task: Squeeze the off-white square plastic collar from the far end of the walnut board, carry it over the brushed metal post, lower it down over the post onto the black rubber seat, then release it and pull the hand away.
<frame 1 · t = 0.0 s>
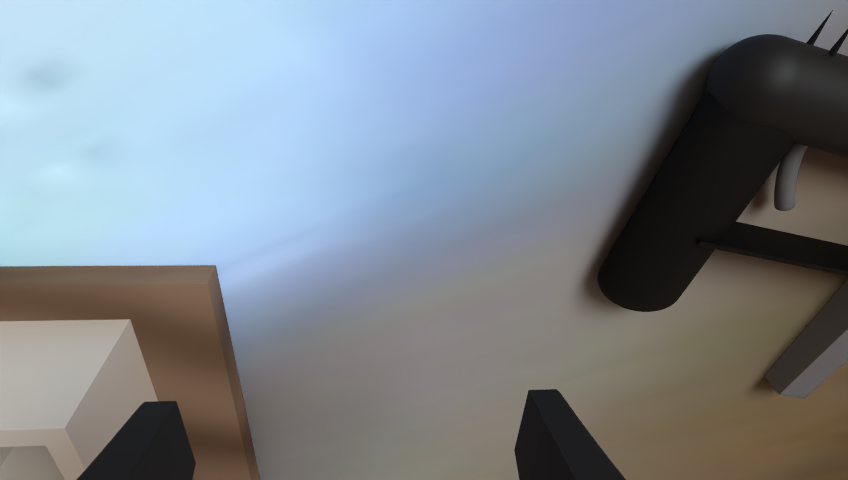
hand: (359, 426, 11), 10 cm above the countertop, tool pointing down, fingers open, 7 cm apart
post board: (118, 418, 24), on the countertop
door handle: (815, 235, 23), on the countertop
collar: (76, 371, 21), point 1 cm above the countertop, touching post board
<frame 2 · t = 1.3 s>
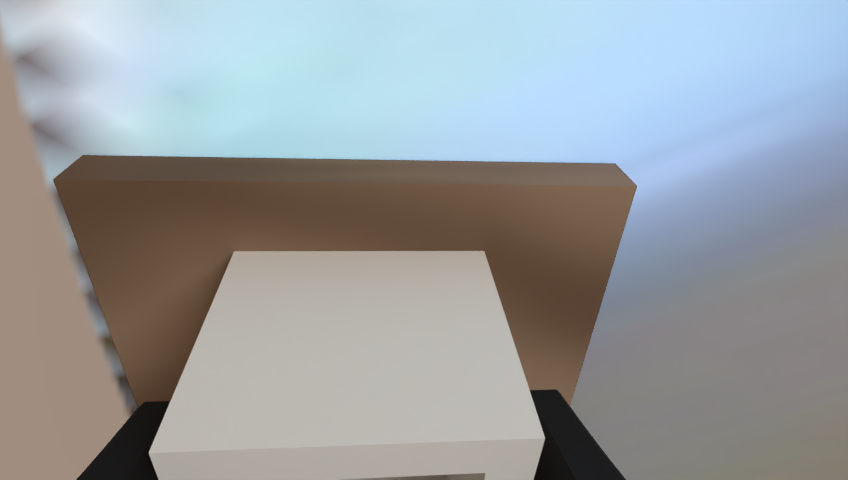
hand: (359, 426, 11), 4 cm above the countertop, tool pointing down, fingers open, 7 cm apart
post board: (365, 419, 16), on the countertop
collar: (363, 342, 13), point 1 cm above the countertop, touching post board
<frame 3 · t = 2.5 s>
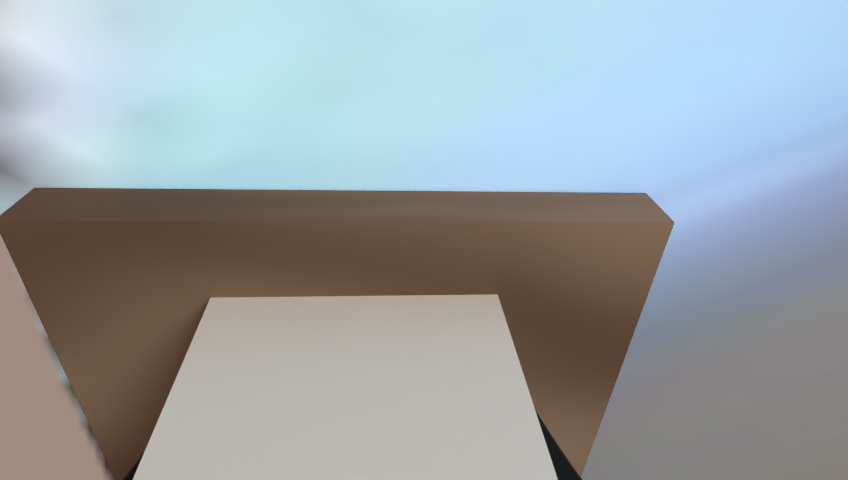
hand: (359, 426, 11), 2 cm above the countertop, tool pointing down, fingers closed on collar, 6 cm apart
post board: (363, 464, 15), on the countertop
collar: (360, 392, 11), point 1 cm above the countertop, touching gripper, post board
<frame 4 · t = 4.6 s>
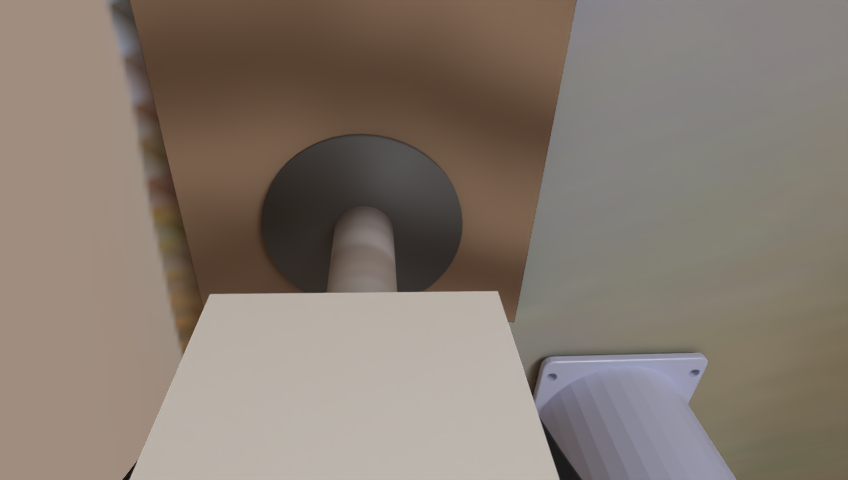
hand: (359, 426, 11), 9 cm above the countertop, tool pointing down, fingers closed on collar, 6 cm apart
post board: (362, 87, 16), on the countertop
collar: (359, 390, 11), point 8 cm above the countertop, touching gripper
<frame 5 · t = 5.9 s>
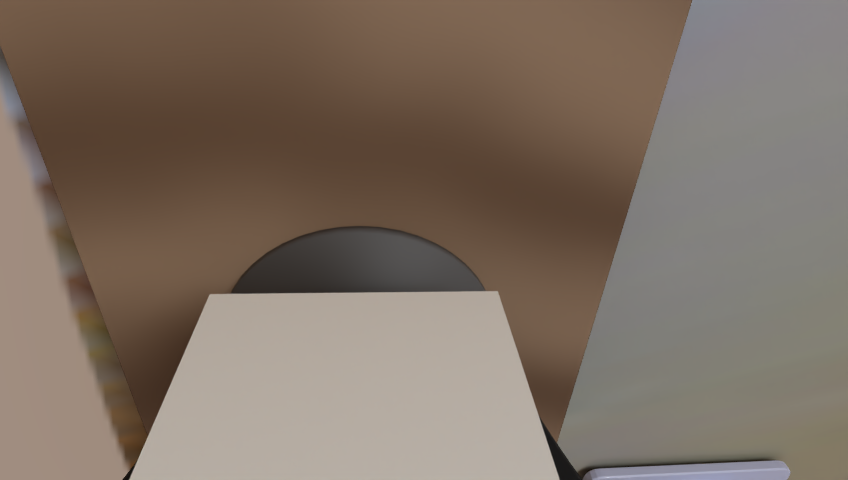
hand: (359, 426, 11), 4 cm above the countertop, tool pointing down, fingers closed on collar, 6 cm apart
post board: (360, 156, 11), on the countertop
collar: (359, 390, 11), point 3 cm above the countertop, touching gripper
when the fingers open (4 cm above the countertop, at t = 6.9 s): collar drops 1 cm, resting on post board.
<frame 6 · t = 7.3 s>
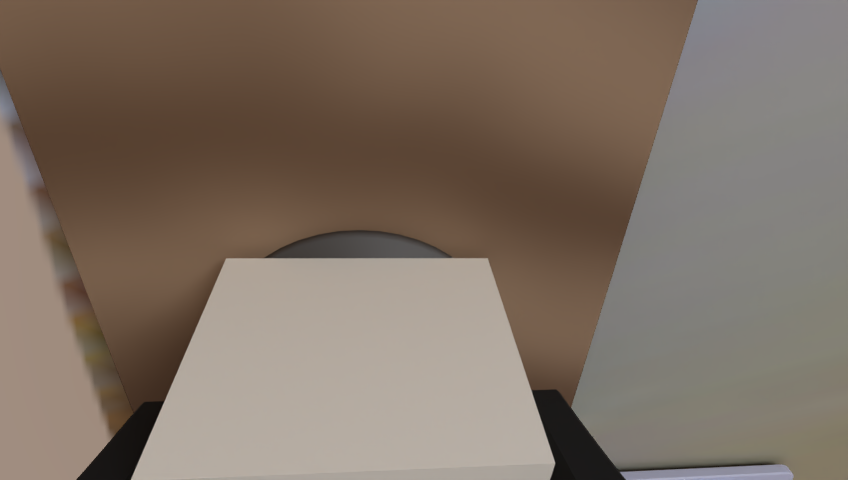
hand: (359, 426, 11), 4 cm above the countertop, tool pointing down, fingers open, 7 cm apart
post board: (359, 159, 11), on the countertop
collar: (361, 352, 12), point 1 cm above the countertop, touching post board
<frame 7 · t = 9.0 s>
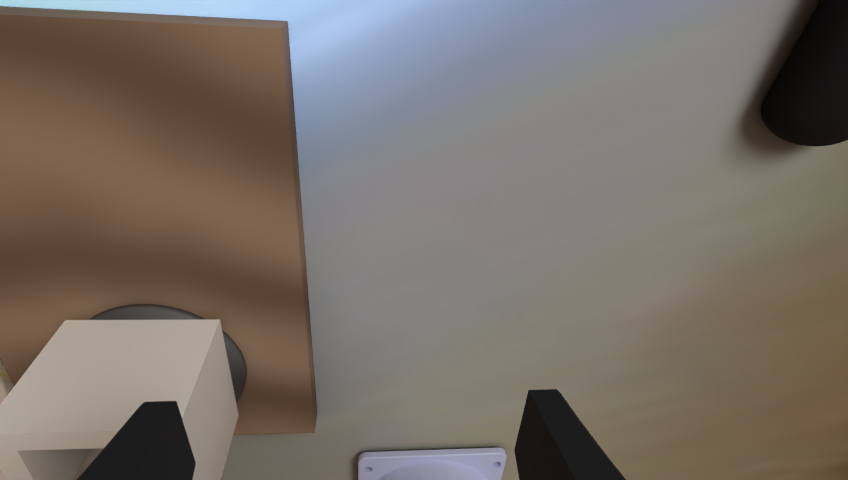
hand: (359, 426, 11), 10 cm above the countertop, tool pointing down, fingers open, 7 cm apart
post board: (148, 261, 20), on the countertop
collar: (159, 371, 21), point 1 cm above the countertop, touching post board
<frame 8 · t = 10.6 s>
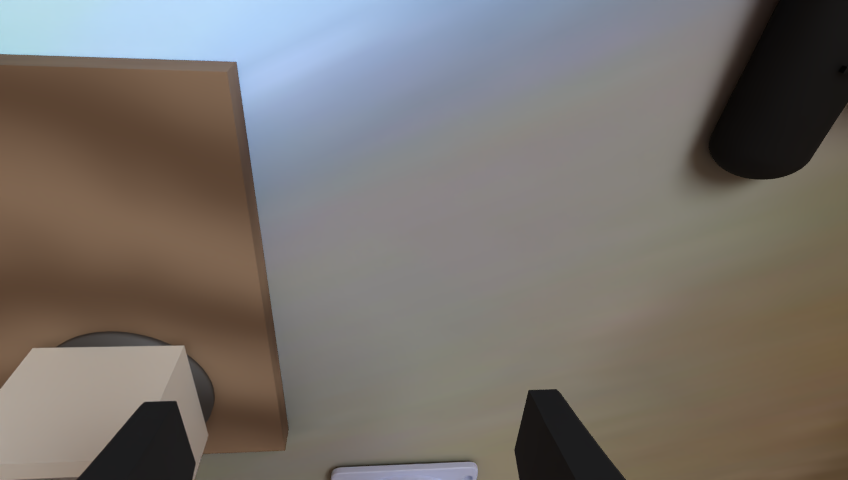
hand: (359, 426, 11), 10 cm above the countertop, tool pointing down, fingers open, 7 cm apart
post board: (114, 289, 20), on the countertop
collar: (127, 395, 21), point 1 cm above the countertop, touching post board
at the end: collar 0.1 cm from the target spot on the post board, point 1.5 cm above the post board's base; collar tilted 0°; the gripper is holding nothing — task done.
